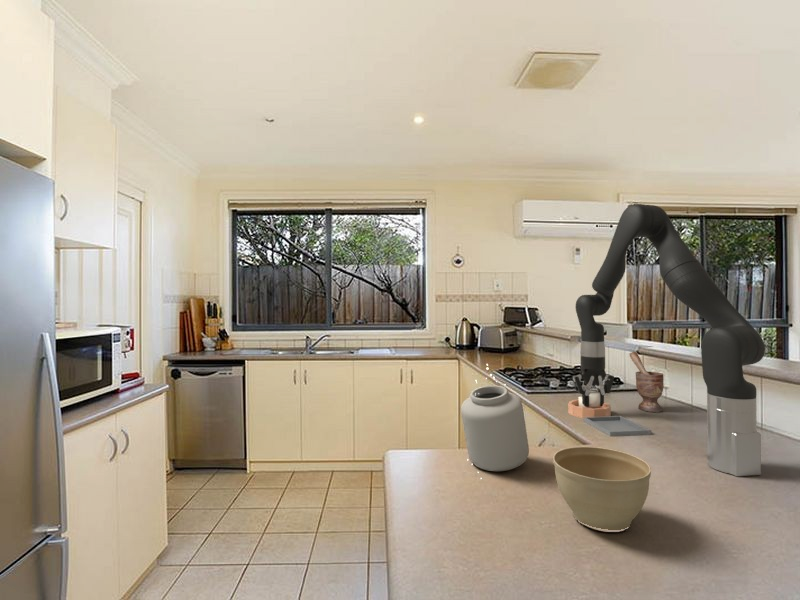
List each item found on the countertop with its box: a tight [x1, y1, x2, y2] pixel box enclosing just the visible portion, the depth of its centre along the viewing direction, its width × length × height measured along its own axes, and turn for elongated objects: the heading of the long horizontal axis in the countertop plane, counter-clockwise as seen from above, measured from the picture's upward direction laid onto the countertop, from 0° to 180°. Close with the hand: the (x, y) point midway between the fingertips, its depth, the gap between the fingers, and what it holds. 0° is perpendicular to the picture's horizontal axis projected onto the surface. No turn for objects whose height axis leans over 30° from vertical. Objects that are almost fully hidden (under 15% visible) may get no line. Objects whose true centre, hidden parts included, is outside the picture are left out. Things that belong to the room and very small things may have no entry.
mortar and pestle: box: [628, 351, 664, 413], centre depth 155 cm, size 12×9×20 cm
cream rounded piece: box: [588, 390, 600, 408], centre depth 144 cm, size 4×4×5 cm
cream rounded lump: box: [577, 395, 592, 408], centre depth 149 cm, size 4×4×5 cm
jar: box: [460, 363, 530, 480], centre depth 105 cm, size 19×15×25 cm
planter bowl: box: [552, 446, 652, 530], centre depth 79 cm, size 16×16×11 cm
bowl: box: [567, 399, 612, 419], centre depth 147 cm, size 13×13×4 cm
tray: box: [583, 415, 652, 437], centre depth 131 cm, size 15×12×2 cm
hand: (593, 405), depth 144 cm, fingers closed on cream rounded piece, 4 cm apart
